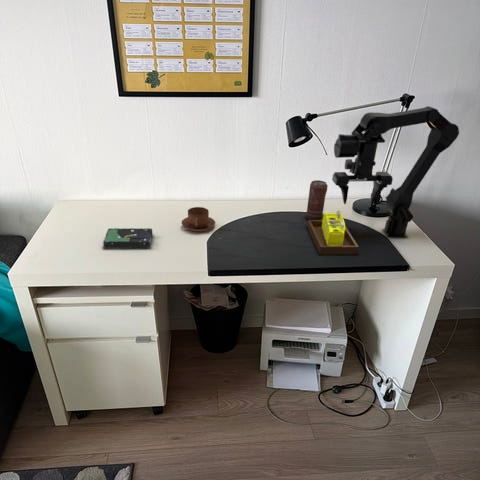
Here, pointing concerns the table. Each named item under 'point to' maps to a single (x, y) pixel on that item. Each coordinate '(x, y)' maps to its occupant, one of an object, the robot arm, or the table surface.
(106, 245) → the disk drive
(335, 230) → the yellow toy chassis
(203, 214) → the cup and saucer
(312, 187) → the can
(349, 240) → the tray
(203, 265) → the table surface
